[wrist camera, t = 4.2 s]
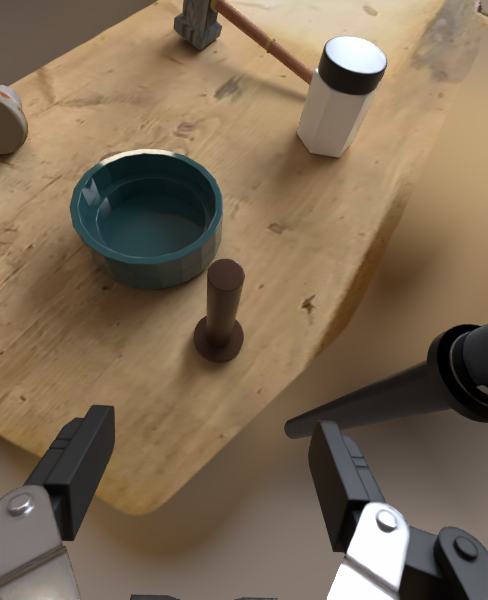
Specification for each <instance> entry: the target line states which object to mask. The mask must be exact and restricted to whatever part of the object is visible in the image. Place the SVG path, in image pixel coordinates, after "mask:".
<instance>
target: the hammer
mask: <svg viewBox="0 0 488 600" xmlns="http://www.w3.org/2000/svg"><path fill="white" fill-rule="evenodd" d="M218 12H219V13H220V14H221V15H223V16H224V17H225V18H226V19H228V20H229V21H230V22H231V23H233V24H234V25H235V26H236V27H238V28H239V29H240V30H241V31H243V32H244V33H245V34H247V35H248V36H249V37H250V38H252V39H253V40H254V41H255V42H257V43H258V44H259V45H260V46H262V47H263V48H264V49H265V50H267V53H270V54H272V55H273V56H274V57H275V58H277V59H278V60H279V61H280V62H282V63H283V64H284V65H285V66H287V67H288V68H289V69H290V70H292V71H293V72H294V73H295V74H297V75H298V76H299V77H300V78H302V79H303V80H304V81H305V82H307V83H308V84H309V85H310V83H311V80H312V76H313V72H312V71H311V70H310V69H309V68H307V67H306V66H305V65H304V64H302V63H301V62H300V61H299V60H297V59H296V58H295V57H294V56H292V55H291V54H290V53H289V52H288V51H286V50H285V49H284V48H283V47H281V46H280V45H279V44H278V43H276V42H275V39H272V38H270V37H269V36H268V35H267V34H265V33H264V32H263V31H262V30H260V29H259V28H258V27H257V26H256V25H254V24H253V23H252V22H251V21H249V20H248V19H247V18H246V17H244V16H243V15H242V14H241V13H240V12H238V11H237V10H236V9H235V8H233V7H232V6H231V5H230V4H228V3H227V2H226V1H225V0H184V2H183V11H182V13H181V14H180V15H178V16H177V17H175V19H174V29H175V31H176V32H177V33H178V34H180V35H181V36H182V37H183V38H185V39H186V40H187V41H188V42H190V43H191V44H192V45H194V46H195V47H196V48H197V49H199V50H201V49H203V48H204V47H206V46H207V45H208V44H210V43H211V42H212V41H214V40H215V39H216V38H218V37H219V36H220V33H221V29H222V26H221V25H220V24H219V23H218V22H217V21H216V20H217V15H218Z"/></svg>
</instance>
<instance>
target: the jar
mask: <svg viewBox="0 0 488 600" xmlns="http://www.w3.org/2000/svg"><path fill="white" fill-rule="evenodd" d="M386 67H387V58H386V56H385V54H384V53H383V52H382V51H381V50H380V49H379V48H378V47H377V46H375V45H374V44H372V43H370V42H368V41H366V40H363V39H360V38H356V37H350V36H341V37H336V38H333V39H331V40H329V41H328V42H327V43H326V44H325V46H324V49H323V53H322V56H321V60H320V63H319V67H318V68H317V69H315V70H314V73H313V76H312V80H311V83H310V87H309V91H308V94H307V98H306V101H305V105H304V108H303V112H302V115H301V119H300V122H299V126H298V129H297V135H298V136H299V137H300V139H301V140H302V142H303V143H304V145H305V146H306V148H307V149H308V150H309V152H310V153H314V154H320V155H326V156H332V157H337V158H339V157H340V156H341V155H342V154H343V153H344V152H345V151H346V149H347V148H348V147H349V146H350V145H351V144H352V143H353V141H354V139H355V137H356V134H357V132H358V130H359V128H360V126H361V124H362V122H363V120H364V117H365V115H366V113H367V111H368V109H369V107H370V105H371V103H372V101H373V98H374V96H375V94H376V92H377V90H378V88H379V86H380V81H381V79H382V77H383V75H384V72H385V69H386Z"/></svg>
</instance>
